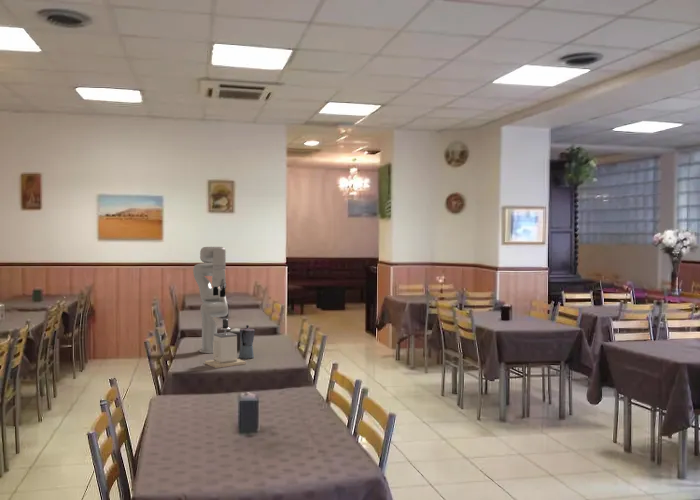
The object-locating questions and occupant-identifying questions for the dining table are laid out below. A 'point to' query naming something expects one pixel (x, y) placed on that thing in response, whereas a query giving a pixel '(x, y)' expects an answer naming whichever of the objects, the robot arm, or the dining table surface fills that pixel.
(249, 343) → the moka pot
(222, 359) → the white box
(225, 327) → the plunger
